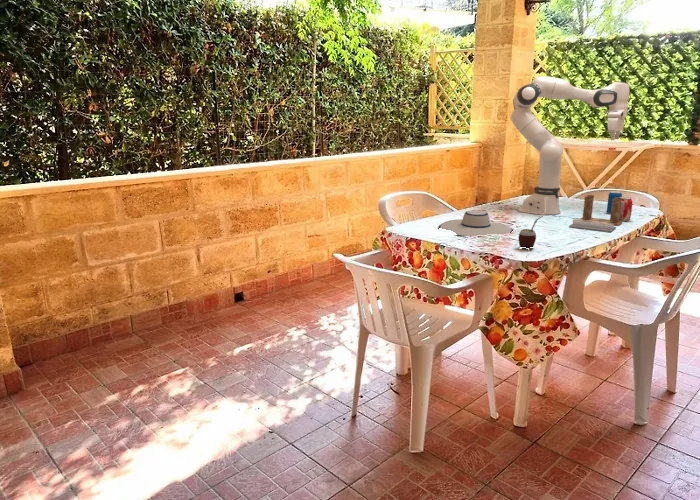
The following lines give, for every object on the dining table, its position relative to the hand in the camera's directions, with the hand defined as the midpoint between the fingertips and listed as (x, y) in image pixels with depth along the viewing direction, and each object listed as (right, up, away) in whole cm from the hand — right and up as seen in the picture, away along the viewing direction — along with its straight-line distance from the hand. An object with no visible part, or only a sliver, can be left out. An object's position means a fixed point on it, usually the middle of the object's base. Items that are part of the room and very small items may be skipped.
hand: (614, 139), depth 280 cm
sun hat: (-81, -50, -23) cm, 98 cm away
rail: (-25, -48, -27) cm, 61 cm away
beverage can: (0, -40, +3) cm, 40 cm away
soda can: (-3, -45, -13) cm, 47 cm away
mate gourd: (-68, -60, -59) cm, 108 cm away
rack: (-16, -46, -16) cm, 51 cm away
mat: (-25, -49, -27) cm, 61 cm away
